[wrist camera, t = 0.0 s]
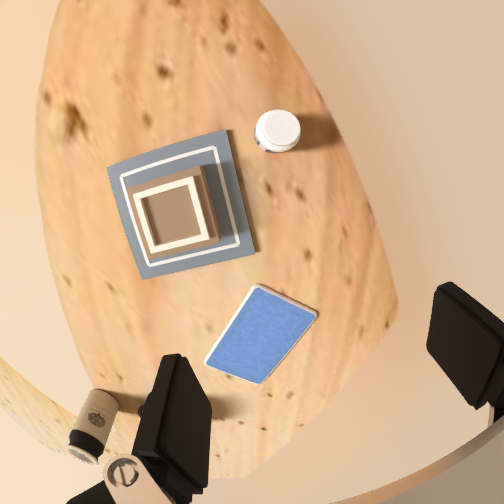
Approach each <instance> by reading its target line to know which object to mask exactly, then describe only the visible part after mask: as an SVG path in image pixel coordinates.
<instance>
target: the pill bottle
mask: <svg viewBox="0 0 504 504" xmlns="http://www.w3.org/2000/svg"><path fill="white" fill-rule="evenodd" d="M253 135H254V140H255V142H256V144H257V145H258V147H259V148H260V149H262V150H263V151H265V152H268V153H280V152H285V151H287V150H290V149H291V148H293V147H294V146H295V145H296V144H297V142H298V141H299V138H300V135H301V128H300V123H299V121H298V119H297V118H296V117H295V115H293V114H292V113H290V112H288V111H285V110H280V109H275V110H270V111H268V112H266V113H265V114H263V115H262V116H261V117H260V119H259V120H258V122H257V124H256V126H255V128H254V134H253Z"/></svg>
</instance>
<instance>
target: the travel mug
mask: <svg viewBox="0 0 504 504" xmlns="http://www.w3.org/2000/svg"><path fill="white" fill-rule="evenodd" d="M118 408H119V404H118V402H117V401H116V400H115V398H113V397H112V396H111V395H110V394H108V393H106V392H104V391H101V390H97V389H94V390H91V391H90V393H89V395H88V397H87V399H86V401H85V403H84V405H83V407H82V410H81V411H80V413H79V416H78V418H77V420H76V422H75V424H74V427H73V429H72V431H71V433H70V436H69V438H70V443H69V445H67V446H66V449H67V451H68V452H69V453H70V454H71V455H72V456H74V457H75V458H77V459H78V460H80V461H82V462H84V463H87V464H90V465H98V457H99V456H100V455H102V454H103V451H104V448H105V445H106V442H107V439H108V436H109V433H110V430H111V427H112V425H113V422H114V419H115V416H116V414H117V411H118Z"/></svg>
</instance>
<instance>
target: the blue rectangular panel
mask: <svg viewBox="0 0 504 504" xmlns="http://www.w3.org/2000/svg"><path fill="white" fill-rule="evenodd" d="M316 317H317V313H316V312H315V311H314V310H312V309H310V308H308V307H306V306H304V305H302V304H300V303H298V302H296V301H294V300H292V299H290V298H288V297H286V296H284V295H281V294H279V293H277V292H275V291H273V290H271V289H269V288H267V287H265V286H263V285H261V284H255V285H253V286H252V288H251V289H250V291H249V292H248V294H247V296H246V297H245V299H244V300H243V302H242V303H241V305H240V306H239V308H238V309H237V311H236V313H235V314H234V316H233V317H232V319H231V320H230V322H229V323H228V325H227V326H226V328H225V329H224V331H223V332H222V334H221V336H220V337H219V339H218V340H217V341H216V343H215V344H214V346H213V347H212V349H211V350H210V352H209V353H208V355H207V356H206V358H205V359H204V363H205V365H207V366H209V367H212V368H214V369H217V370H219V371H222V372H224V373H227V374H230V375H232V376H235V377H238V378H241V379H243V380H246V381H249V382H252V383H255V384H262V383H263V382H264V381H265V380H266V378H267V377H268V376H269V375H270V374H271V373H272V372H273V370H274V369H275V368H276V367H277V366H278V364H279V363H280V362H281V361H282V360H283V359H284V357H285V356H286V355H287V354H288V353H289V351H290V350H291V349H292V348H293V347H294V345H295V344H296V343H297V342H298V341H299V339H300V338H301V337H302V336H303V334H304V333H305V332H306V331H307V329H308V328H309V327H310V325H311V324H312V323H313V322H314V320H315V319H316Z"/></svg>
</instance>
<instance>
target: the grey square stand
mask: <svg viewBox="0 0 504 504" xmlns="http://www.w3.org/2000/svg"><path fill="white" fill-rule="evenodd" d="M107 171H108V175H109V179H110V183H111V187H112V190H113V194H114V197H115V201H116V204H117V208H118V211H119V214H120V218H121V221H122V224H123V227H124V230H125V233H126V236H127V239H128V242H129V245H130V248H131V251H132V253H133V256H134V259H135V262H136V264H137V267H138V270H139V272H140V275H141V278H142V280H143V279H148V278H152V277H157V276H161V275H165V274H170V273H174V272H179V271H183V270H188V269H192V268H196V267H201V266H205V265H209V264H214V263H218V262H223V261H227V260H231V259H236V258H240V257H245V256H249V255H253V254H255V250H254V245H253V241H252V237H251V233H250V228H249V224H248V220H247V216H246V212H245V207H244V203H243V199H242V195H241V190H240V186H239V182H238V178H237V174H236V169H235V165H234V161H233V157H232V153H231V148H230V144H229V140H228V136H227V132H226V130H222V131H218V132H214V133H210V134H206V135H202V136H199V137H195V138H192V139H188V140H185V141H181V142H178V143H175V144H171V145H168V146H165V147H162V148H159V149H156V150H153V151H150V152H147V153H144V154H141V155H139V156H136V157H133V158H130V159H128V160H125V161H122V162H120V163H117V164H115V165H112V166H110V167H107Z"/></svg>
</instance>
